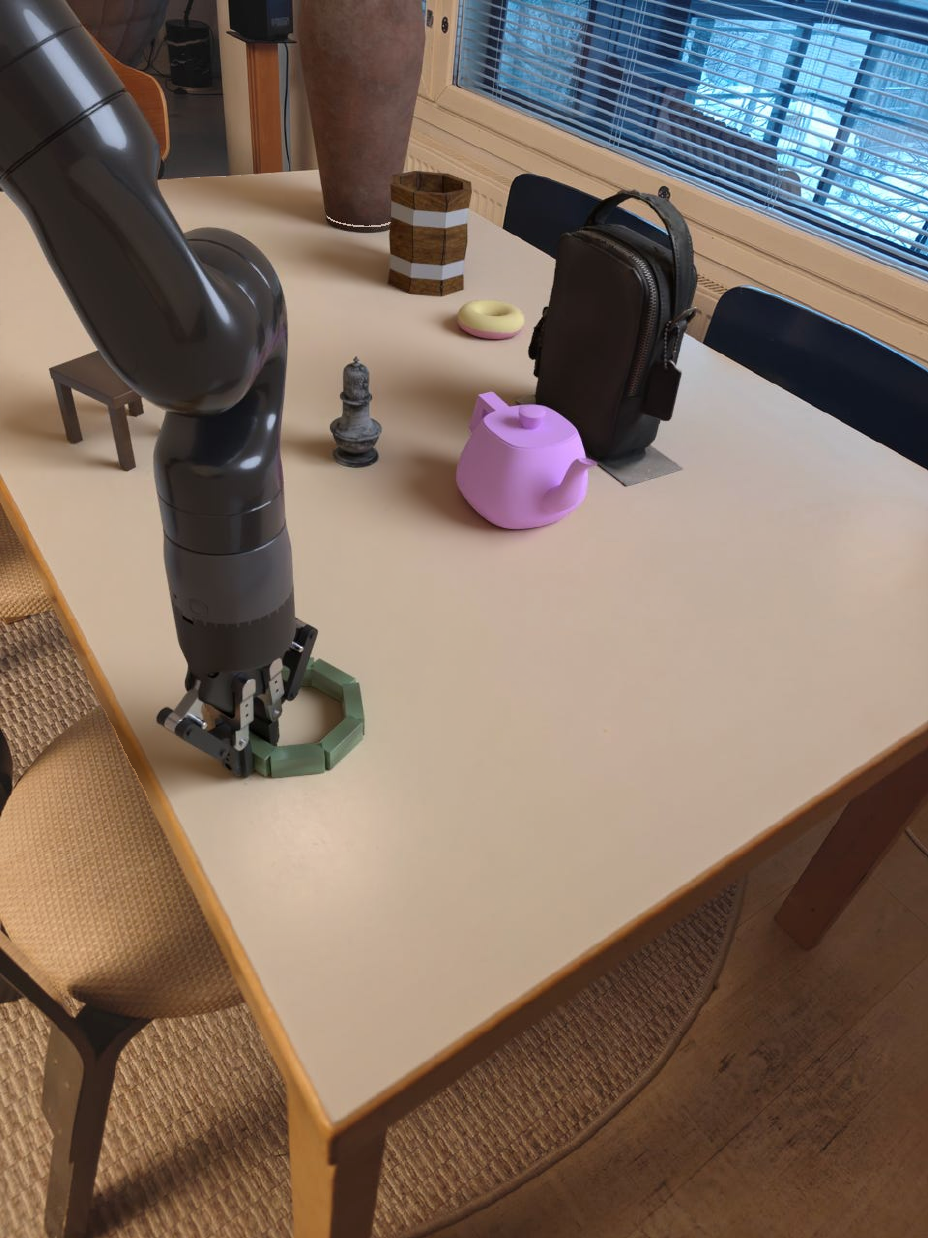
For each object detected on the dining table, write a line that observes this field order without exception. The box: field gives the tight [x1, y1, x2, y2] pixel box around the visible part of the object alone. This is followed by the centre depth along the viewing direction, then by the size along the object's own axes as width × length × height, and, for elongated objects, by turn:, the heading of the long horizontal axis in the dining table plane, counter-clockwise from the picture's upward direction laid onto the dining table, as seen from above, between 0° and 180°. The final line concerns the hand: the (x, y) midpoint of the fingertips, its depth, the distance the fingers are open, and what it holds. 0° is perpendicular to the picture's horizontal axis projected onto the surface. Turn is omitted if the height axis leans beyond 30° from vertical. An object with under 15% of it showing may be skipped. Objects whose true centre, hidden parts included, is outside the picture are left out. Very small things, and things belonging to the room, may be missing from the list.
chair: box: [48, 349, 145, 472], centre depth 89 cm, size 11×10×26 cm
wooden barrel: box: [387, 170, 473, 297], centre depth 140 cm, size 20×14×15 cm
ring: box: [249, 656, 366, 779], centre depth 67 cm, size 11×11×2 cm
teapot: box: [455, 391, 598, 530], centre depth 91 cm, size 13×20×11 cm
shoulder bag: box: [514, 188, 699, 487], centre depth 99 cm, size 23×9×28 cm, turn 33°
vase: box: [296, 0, 427, 234], centre depth 150 cm, size 21×26×45 cm
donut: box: [456, 299, 525, 340], centre depth 129 cm, size 10×5×9 cm
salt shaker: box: [329, 355, 383, 468], centre depth 95 cm, size 6×6×12 cm
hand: (252, 759), depth 65 cm, fingers closed
